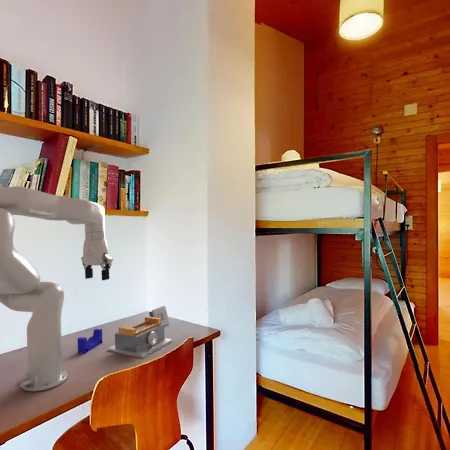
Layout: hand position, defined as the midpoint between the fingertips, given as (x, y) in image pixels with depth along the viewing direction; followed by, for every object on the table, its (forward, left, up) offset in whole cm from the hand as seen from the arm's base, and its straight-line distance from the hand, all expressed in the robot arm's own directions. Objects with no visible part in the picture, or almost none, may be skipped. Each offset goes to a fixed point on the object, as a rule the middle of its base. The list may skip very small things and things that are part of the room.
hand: (97, 279), depth 125 cm
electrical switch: (+34, -3, -29) cm, 45 cm away
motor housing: (+10, -13, -28) cm, 33 cm away
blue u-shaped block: (0, +6, -29) cm, 29 cm away
